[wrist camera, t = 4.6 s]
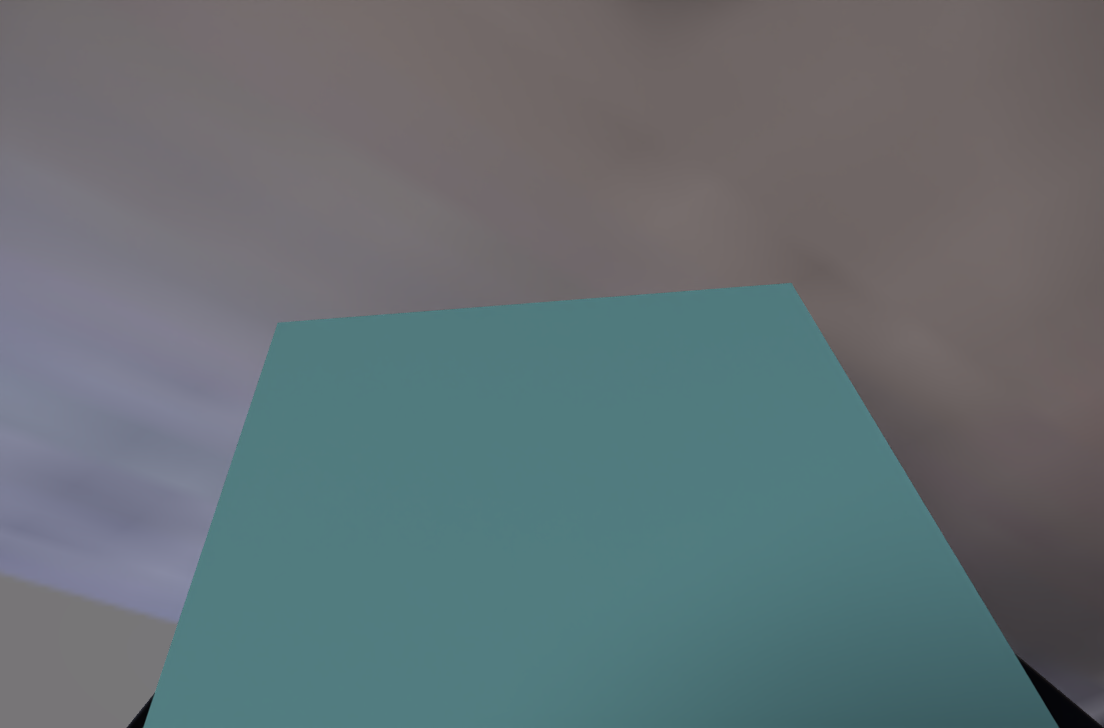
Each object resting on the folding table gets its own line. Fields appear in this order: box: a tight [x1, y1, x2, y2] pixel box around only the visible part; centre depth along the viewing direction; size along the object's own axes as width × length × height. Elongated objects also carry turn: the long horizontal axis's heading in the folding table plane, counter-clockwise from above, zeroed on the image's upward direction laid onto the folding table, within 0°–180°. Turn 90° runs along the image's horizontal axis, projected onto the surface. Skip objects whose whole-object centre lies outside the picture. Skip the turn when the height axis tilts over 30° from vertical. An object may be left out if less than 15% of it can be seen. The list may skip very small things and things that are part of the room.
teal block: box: [143, 283, 1059, 728], centre depth 8 cm, size 5×5×5 cm
